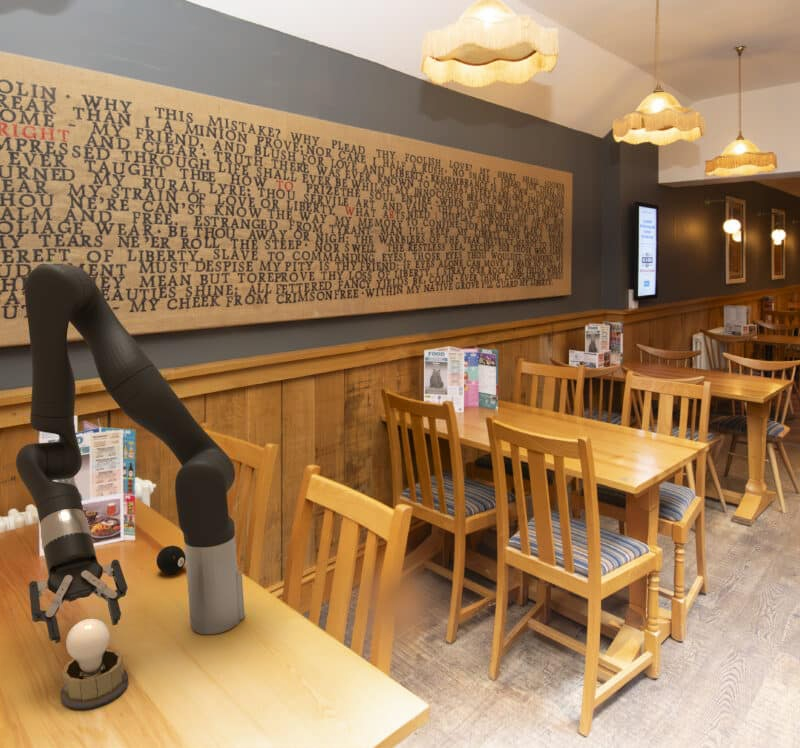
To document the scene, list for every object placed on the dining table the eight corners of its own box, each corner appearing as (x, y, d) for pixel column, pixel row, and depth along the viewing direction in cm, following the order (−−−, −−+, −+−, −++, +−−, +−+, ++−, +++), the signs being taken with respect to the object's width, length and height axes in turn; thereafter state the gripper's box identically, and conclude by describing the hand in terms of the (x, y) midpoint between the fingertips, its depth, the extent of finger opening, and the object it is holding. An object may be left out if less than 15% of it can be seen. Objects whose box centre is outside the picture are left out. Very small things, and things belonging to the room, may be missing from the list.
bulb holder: (114, 663, 113) (111, 639, 113) (139, 688, 106) (136, 663, 106) (51, 690, 106) (48, 665, 106) (74, 719, 99) (71, 692, 99)
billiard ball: (172, 580, 143) (170, 554, 142) (152, 575, 145) (149, 550, 144) (192, 568, 148) (190, 544, 147) (171, 564, 151) (169, 539, 150)
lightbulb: (97, 698, 102) (90, 634, 101) (62, 694, 104) (54, 630, 102) (122, 673, 109) (116, 612, 107) (88, 669, 110) (81, 609, 108)
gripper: (20, 543, 106) (38, 640, 99) (113, 521, 114) (136, 609, 107) (20, 562, 111) (37, 655, 104) (109, 540, 119) (131, 625, 112)
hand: (87, 632), depth 106 cm, fingers open, 8 cm apart
